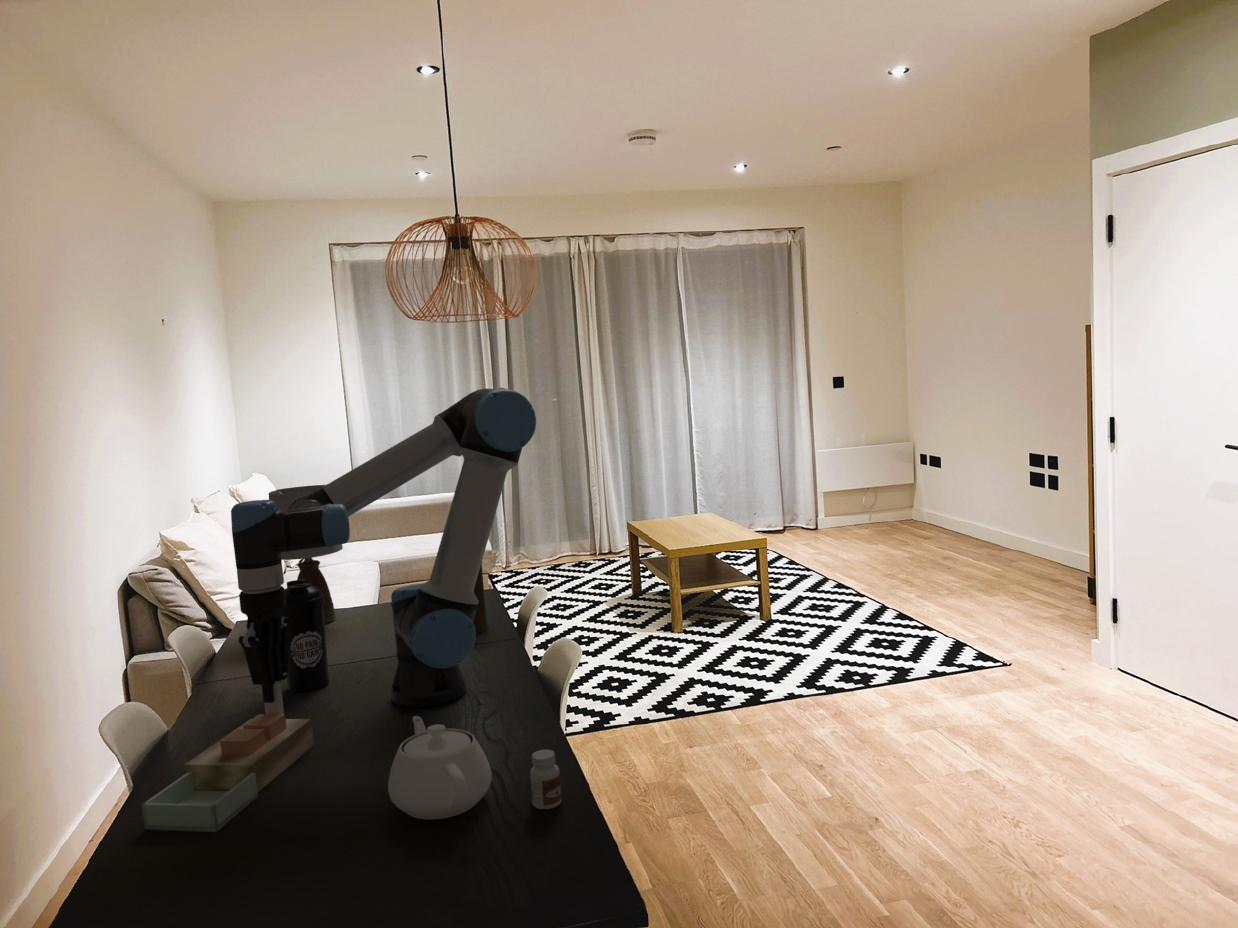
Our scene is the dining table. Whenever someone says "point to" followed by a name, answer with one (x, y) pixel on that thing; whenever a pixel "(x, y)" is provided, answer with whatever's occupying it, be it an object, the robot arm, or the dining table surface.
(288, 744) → the long beige platform
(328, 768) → the dining table surface
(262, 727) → the tile
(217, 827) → the tray
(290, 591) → the water bottle
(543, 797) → the pill bottle
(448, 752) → the teapot
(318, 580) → the lamp
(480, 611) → the canister
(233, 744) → the tile
